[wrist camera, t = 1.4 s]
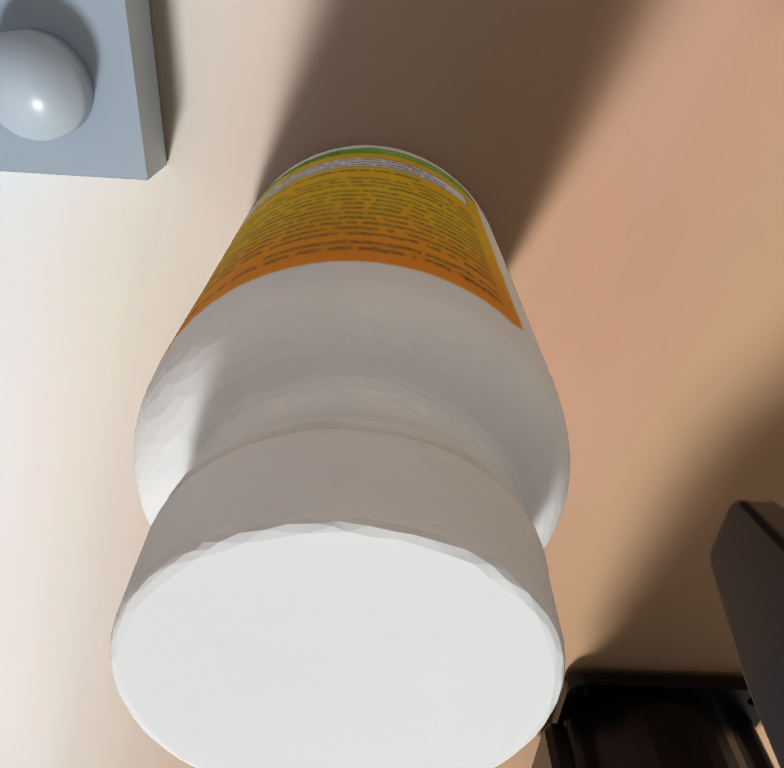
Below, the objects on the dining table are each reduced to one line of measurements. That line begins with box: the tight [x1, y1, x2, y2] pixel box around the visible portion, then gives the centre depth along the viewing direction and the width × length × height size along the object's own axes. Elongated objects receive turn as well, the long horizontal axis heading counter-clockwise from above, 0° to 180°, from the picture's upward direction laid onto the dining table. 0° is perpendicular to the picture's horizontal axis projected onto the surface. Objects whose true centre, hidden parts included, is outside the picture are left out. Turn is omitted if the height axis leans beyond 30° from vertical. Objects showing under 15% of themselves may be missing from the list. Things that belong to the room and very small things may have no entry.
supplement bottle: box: [110, 145, 570, 768], centre depth 10 cm, size 5×5×10 cm
